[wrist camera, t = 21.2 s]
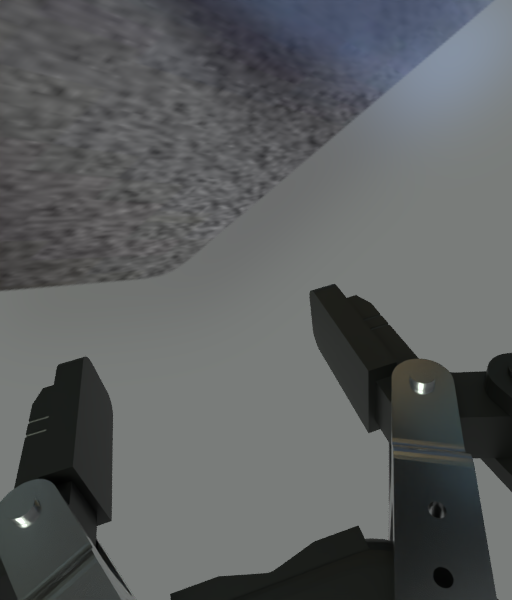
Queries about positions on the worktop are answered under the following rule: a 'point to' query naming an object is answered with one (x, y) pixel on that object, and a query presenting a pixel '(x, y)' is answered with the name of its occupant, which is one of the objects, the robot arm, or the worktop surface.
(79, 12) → the worktop surface
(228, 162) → the worktop surface
